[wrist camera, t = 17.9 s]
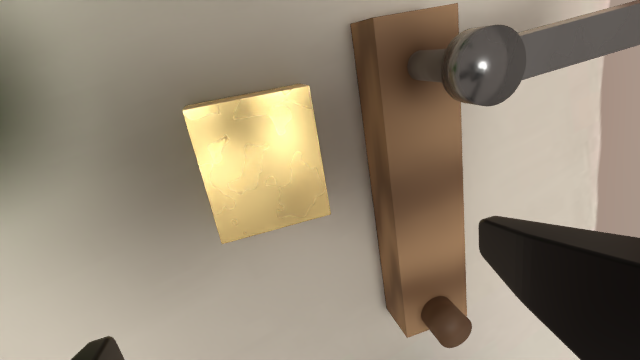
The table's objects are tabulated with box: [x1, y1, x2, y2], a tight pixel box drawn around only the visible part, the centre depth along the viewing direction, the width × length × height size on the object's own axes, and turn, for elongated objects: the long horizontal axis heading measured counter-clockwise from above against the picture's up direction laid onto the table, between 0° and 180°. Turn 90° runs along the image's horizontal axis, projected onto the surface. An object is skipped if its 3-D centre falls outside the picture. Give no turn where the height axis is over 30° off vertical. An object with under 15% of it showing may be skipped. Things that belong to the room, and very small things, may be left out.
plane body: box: [351, 3, 472, 348], centre depth 20 cm, size 19×4×7 cm, turn 10°
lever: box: [441, 0, 640, 106], centre depth 14 cm, size 12×3×1 cm, turn 103°
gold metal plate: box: [182, 84, 331, 244], centre depth 19 cm, size 7×6×2 cm
